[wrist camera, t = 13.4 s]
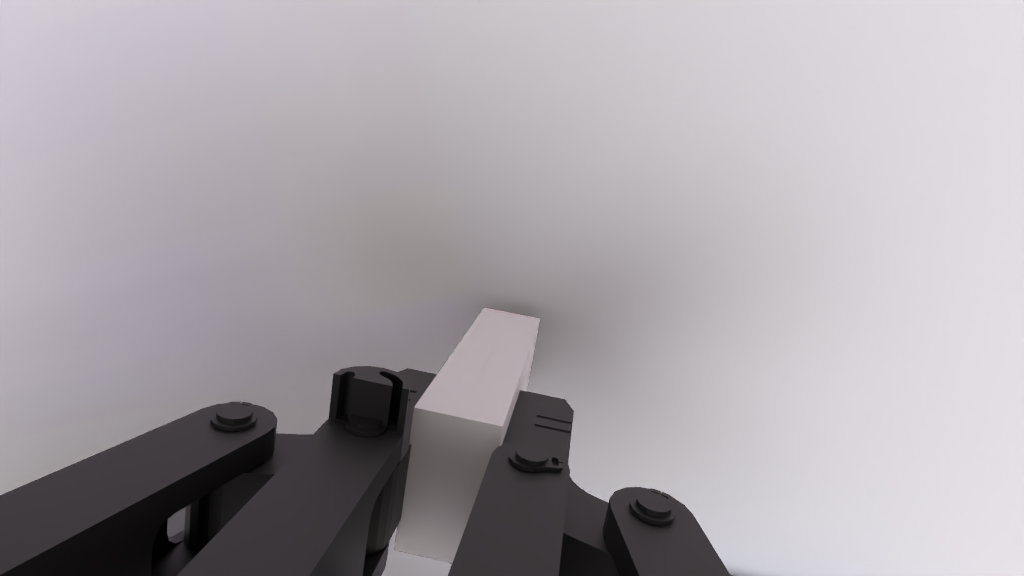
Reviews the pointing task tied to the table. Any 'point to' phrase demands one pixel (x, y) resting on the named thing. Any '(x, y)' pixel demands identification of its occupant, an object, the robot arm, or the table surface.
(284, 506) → the robot arm
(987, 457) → the table surface
